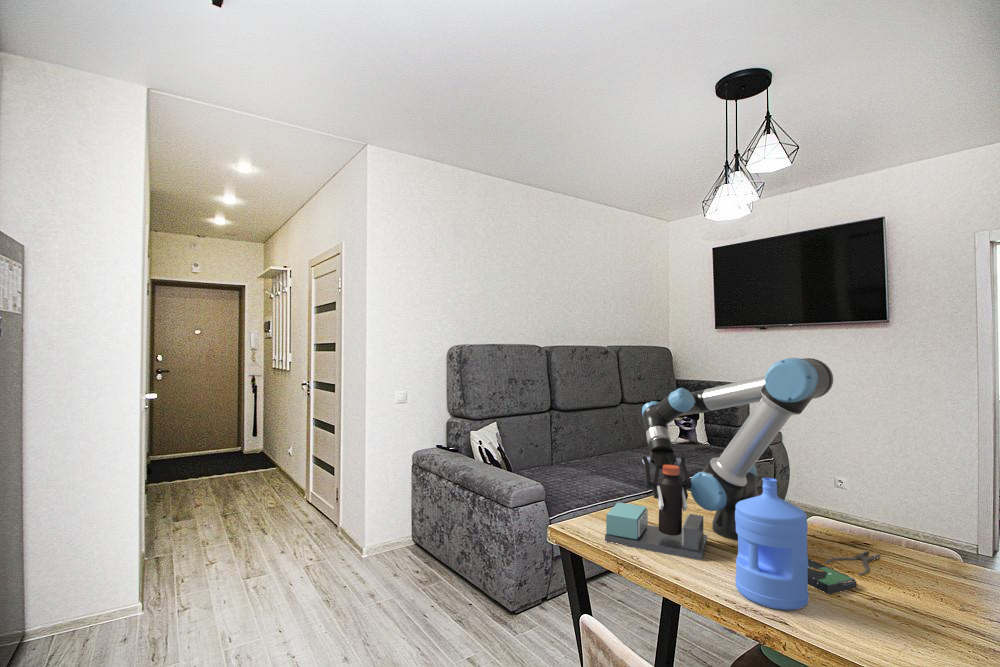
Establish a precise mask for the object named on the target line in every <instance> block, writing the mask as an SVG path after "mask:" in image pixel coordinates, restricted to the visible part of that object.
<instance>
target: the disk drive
mask: <svg viewBox="0 0 1000 667" xmlns="http://www.w3.org/2000/svg"><path fill="white" fill-rule="evenodd" d="M857 584H858V583H857V581H856V579H854V578H853V577H851V576H849V574H848V575H847V574H846V573H843V572H841V571H838V570H836V569H834V568H831V567H828V566H826V565H824V564H822V563H819V562H816V561H814V560H812V559H809V558H808V586H810V587H812V586H813V588H814V587H815V588H814V589H816V588H817V589H816V590H818V589H819V590H818V591H820V590H821V592H822V591H824V592H825V594H827V595H833V594H837V593H836V592H838V593H841V592H840V591H842V592H845V591H844V590H847V591H850V590H849V589H851V590H854V589H853V588H855V589H857V588H858V586H857ZM824 592H823V593H824ZM832 593H833V594H832Z"/></svg>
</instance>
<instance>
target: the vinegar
mask: <svg viewBox="0 0 1000 667" xmlns="http://www.w3.org/2000/svg"><path fill="white" fill-rule="evenodd" d="M680 473H681V471H680V467H679V466H678V465H663V469H662V475H663V478H661V479H660V480H659V483H658V484H659V485H658V486H660V489H661V494H662V499H663V504H664V506H663V509H662V510H659V509H658V527H659V531H660V532H661V533H663V534H666V535H673V536H676V535H680V534H681V533H682V527H683V509H682V487H683V485H682V483H681V481H680V480H679V479H678V476H679V474H680Z"/></svg>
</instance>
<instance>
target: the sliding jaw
mask: <svg viewBox="0 0 1000 667" xmlns="http://www.w3.org/2000/svg"><path fill="white" fill-rule="evenodd" d="M648 514H649V513H648V509H647V506H645V505H638V504H631V503H624V502H619V501H618V502H617V503H615V505H614V506H613V507H612V508H611V509H610V510H609V511H608V512H607V513H606V522H605V524H606V525H605V526H606V528H605V533H606V534H610V535H615V536H621V537H626V538H632V539H638V537H640V536H641V534H642V533H643V531H644V530H645V528H646V527H647V525H649V520H648V519H649V518H648V517H649V516H648ZM606 534H605V535H606Z"/></svg>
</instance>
